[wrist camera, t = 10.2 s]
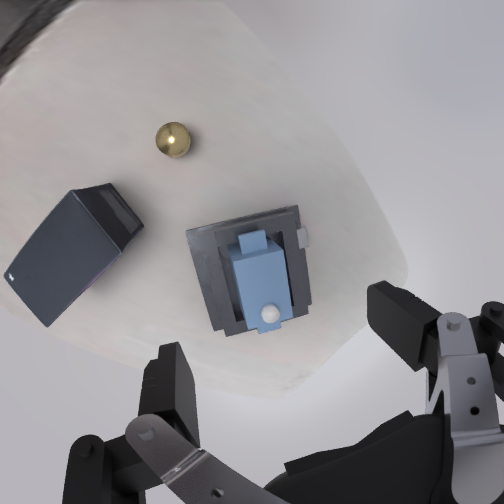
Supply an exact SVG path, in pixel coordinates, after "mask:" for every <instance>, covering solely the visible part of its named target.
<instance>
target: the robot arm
mask: <svg viewBox="0 0 504 504" xmlns="http://www.w3.org/2000/svg"><path fill="white" fill-rule="evenodd" d="M367 319H368V323H369V325H370V327H371V328H372V329H373V330H374V332H375V333H377V334H378V336H380V337H381V338H382V339H383V340H384V341H385V342H386V343H387V344H388V345H389V346H390V347H391V348H392V349H393V350H394V351H395V352H396V353H397V354H398V355H399V356H400V357H401V358H402V359H403V360H404V361H405V362H406V363H407V364H408V365H409V366H410V367H411V368H412V369H413V370H414V371H415V372H416V371H418V370H420V369H421V368H423V367H426V368H427V372H426V409H425V414H423V415H418V416H414V417H413V416H412V414H411V413H410V412H409V411H408V410H407V411H405V412H403V413H402V414H400V415H398V416H396V417H394V418H392V419H391V420H389V421H387V422H385V423H383V424H381V425H380V426H379V427H378V428H376V429H375V430H374V431H373V432H371V433H370V434H369V435H367V436H366V437H365V438H364V439H362V440H361V441H360V442H359V443H357V444H355V445H353V446H349V447H344V448H339V449H334V450H328V451H321V452H316V453H314V454H311V455H308V456H305V457H302V458H299V459H296V460H293V461H290V462H287V463H284V466H285V469H286V472H284V473H282V474H280V475H279V476H277V477H276V478H274V479H273V480H272V481H270V482H269V483H268V484H267V485H266V486H265V487H264V488H261V487H259V486H258V485H256V484H254V483H253V482H251V481H250V480H248V479H247V478H245V477H243V476H242V475H240V474H239V473H237V472H236V471H234V470H232V469H231V468H230V467H228V466H227V465H225V464H224V463H222V462H221V461H220V460H218V459H217V458H216V457H214V456H213V455H211V454H210V453H209V452H207V451H205V450H203V449H202V450H201V451H200V450H199V449H198V448H200V439H199V429H198V419H197V408H196V394H195V382H194V378H193V374H192V371H191V369H190V367H189V364H188V362H187V360H186V358H185V355H184V353H183V351H182V348H181V346H180V344H179V342H174V343H169V344H165V345H160V346H159V353H158V359H154V360H150V362H149V363H148V365H147V366H146V368H145V369H144V375H143V382H142V389H141V396H140V403H139V411H138V417H137V418H135V419H134V420H132V421H131V422H130V423H129V425H128V426H127V428H126V431H125V434H124V435H122V436H120V437H117V438H115V439H112V440H109V441H106V442H103V440H102V439H101V438H99V437H98V436H96V435H85V436H82V437H80V438H78V439H77V440H76V441H75V442H74V443H73V445H72V446H71V449H70V453H69V458H68V465H67V470H66V477H65V484H64V491H63V500H62V504H146V498H145V490H146V489H149V488H152V487H155V486H158V485H160V484H163V483H165V485H167V486H168V488H169V489H171V490H172V491H173V492H174V493H175V494H176V495H177V496H178V497H179V498H180V499H181V500H182V501H183V502H184V503H185V504H504V425H501V424H499V418H498V410H497V403H496V397H495V394H496V395H497V396H498V397H499V398H500V399H501V400H502V401H503V402H504V357H503V356H502V355H501V354H500V353H498V351H499V348H500V345H501V342H502V343H503V344H504V304H502V303H500V302H495V301H491V302H487V303H485V304H484V305H483V306H482V309H481V314H480V316H476V317H473V318H469V319H468V318H467V317H466V316H464V315H462V314H460V313H455V312H454V313H453V312H450V313H445V314H442V313H440V312H439V311H437V310H436V309H434V308H433V307H431V306H430V305H428V304H427V303H426V302H424V301H422V300H421V299H419V298H418V297H415V295H414V294H412V293H411V292H409V291H408V290H405V289H401V288H398V287H394V286H393V285H391V284H390V283H388V282H387V281H385V280H383V281H380V282H378V283H375V284H372V285H370V286H368V289H367Z"/></svg>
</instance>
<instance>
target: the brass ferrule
mask: <svg viewBox="0 0 504 504" xmlns="http://www.w3.org/2000/svg"><path fill="white" fill-rule="evenodd" d="M190 144H191V141H190V135H189V132H188V130H187V128H186V127H185V126H184V125H182V124H180V123H177V122H170V123H167V124H165V125H163V126H162V127H161V128H160V129H159V131H158V132H157V135H156V145H157V147H158V149H159V150H160V151H161V152H162V153H164V154H166V155H167V156H169V157H172V158H178V157H181V156H183V155H185V154H186V153H187V152H188V150H189V148H190Z"/></svg>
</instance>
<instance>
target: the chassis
mask: <svg viewBox="0 0 504 504" xmlns="http://www.w3.org/2000/svg"><path fill="white" fill-rule="evenodd" d="M258 230H265V235H266V237H267V236H268V237H269V238H270V239H272V240H273V241H274V242H275V243H276V244H277V245H278V246H279V247H281V248H282V249H283V252H284V258H285V265H286V271H287V278H288V285H289V292H290V299H291V306H292V313H293V318H296V317H299V316H303V315H306V314H309V313H308V305H311V304H312V302H311V293H310V286H309V278H308V270H307V263H306V256H305V249H304V248H305V247H309V246H308V239H307V232H306V228H305V227H303V226H301V223H300V217H299V210H298V205H293V206H289V207H284V208H279V209H275V210H270V211H266V212H262V213H257V214H253V215H248V216H244V217H240V218H236V219H231V220H227V221H223V222H219V223H215V224H211V225H207V226H203V227H199V228H195V229H191V230H187V231H186V235H187V239H188V243H189V247H190V250H191V254H192V258H193V261H194V265H195V269H196V272H197V276H198V279H199V283H200V286H201V290H202V293H203V297H204V300H205V303H206V307H207V310H208V313H209V317H210V320H211V323H212V326H213V329H214V331H217V330H221V329H224V332H225V335H226V337H228V336H232V335H236V334H239V333H243V332H247V331H251V330H254V329H257V328H254V329H250V330H248V328H247V325H246V322H245V319H244V316H243V313H242V311H241V308H240V305H239V300H238V296H237V292H236V287H235V283H234V278H233V274H232V269H231V265H230V260H229V256H228V251H227V247H226V246H228V245H232V244H237V243H239V239H238V235H241V234H245V233H249V232H254V231H258ZM293 318H290V319H293ZM287 320H289V319H287ZM283 321H286V320H283ZM283 321H280V322H283Z"/></svg>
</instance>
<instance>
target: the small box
mask: <svg viewBox="0 0 504 504" xmlns="http://www.w3.org/2000/svg"><path fill="white" fill-rule="evenodd" d="M142 228H143V224H142V223H141V221H140V220H139V219H138V217H137V216H136V215H135V214H134V213H133V211H132V210H131V209H130V207H129V206H128V205H127V204H126V202H125V201H124V200H123V199H122V197H121V196H120V195H119V193H118V192H117V191H116V190H115V188H114V187H113V186H112V184H111V183H107V184H103V185H99V186H94V187H89V188H84V189H77V190H70V191H69V192H68V193H67V194H66V195H65V196H64V198H63V199H62V200H61V201H60V202H59V203H58V204H57V205H56V206H55V208H54V209H53V210H52V211H51V212H50V213H49V215H48V216H47V217H46V218H45V219H44V221H43V222H42V223H41V224H40V225H39V227H38V228H37V229H36V230H35V232H34V233H33V234H32V235H31V237H30V238H29V239H28V241H27V242H26V243H25V245H24V246H23V248H22V249H21V250H20V251H19V253H18V254H17V256H16V257H15V258H14V260H13V261H12V263H11V264H10V266H9V267H8V269H7V270H6V272H5V273H4V278H5V280H6V281H7V282H8V283H9V285H10V286H11V287H12V289H13V290H14V291H15V292H16V294H17V295H18V296H19V297H20V298H21V300H22V301H23V302H24V303H25V304H26V306H27V307H28V308H29V309H30V310H31V311H32V313H33V314H34V315H35V316H36V317H37V318H38V319H39V320H40V321H41V322H42V323H43V324H44V326H45V327H49V326H50V325H51V324H52V323H53V322H54V321H55V320H56V319H57V318H58V317H59V316H60V315H61V314H62V313H63V312H64V311H65V310H66V309H67V308H68V307H69V306H70V305H71V304H72V303H73V302H74V301H75V300H76V299H77V298H78V297H79V296H80V295H81V294H82V293H83V292H84V291H85V290H86V289H87V288H88V287H90V286H91V285H92V284H93V283H94V281H95V280H96V279H97V278H98V277H99V276H100V275H101V274H102V273H103V272H104V271H105V270H106V269H107V268H108V267H109V266H111V265H112V264H113V263H114V262H115V260H116V259H117V258H118V257H119V256H120V255H121V254H122V253H123V252H124V250H125V249H126V248H127V247H128V245H129V244H130V243H131V242H132V241H133V239H134V238H135V237H136V236H137V234H138V233H139V232H140V231H141V230H142Z"/></svg>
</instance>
